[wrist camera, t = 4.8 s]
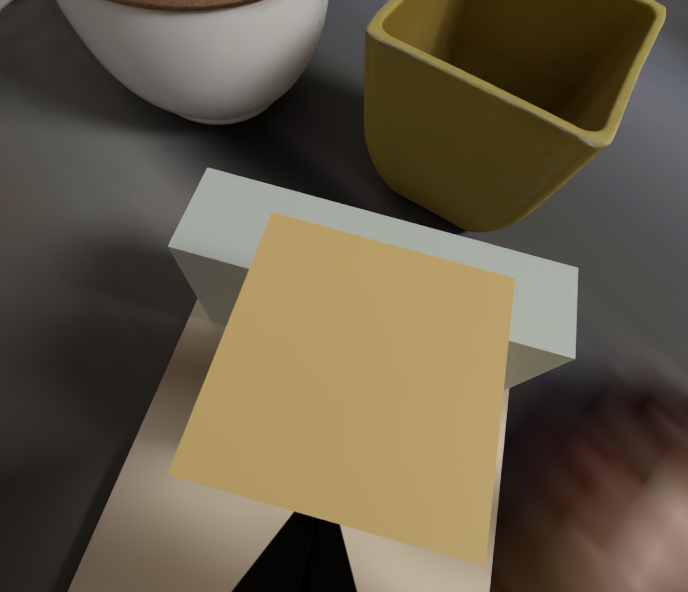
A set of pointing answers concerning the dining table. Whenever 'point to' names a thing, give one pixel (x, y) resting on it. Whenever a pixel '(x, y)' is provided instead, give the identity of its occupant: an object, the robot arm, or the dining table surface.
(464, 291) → the block
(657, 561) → the dining table surface
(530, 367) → the wall
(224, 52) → the lidded bowl
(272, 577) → the robot arm
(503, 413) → the board
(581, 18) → the flower pot
